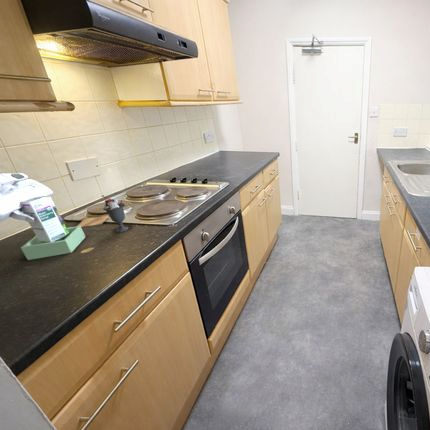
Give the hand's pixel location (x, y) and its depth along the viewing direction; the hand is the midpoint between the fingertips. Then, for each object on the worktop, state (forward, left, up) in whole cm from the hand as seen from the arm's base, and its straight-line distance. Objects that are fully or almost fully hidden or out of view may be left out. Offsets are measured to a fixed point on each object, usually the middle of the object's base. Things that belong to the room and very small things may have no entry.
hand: (44, 214), depth 86 cm
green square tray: (-1, 0, -13) cm, 13 cm away
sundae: (+16, +7, -13) cm, 22 cm away
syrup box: (-1, 0, -9) cm, 9 cm away
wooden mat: (+2, +21, -13) cm, 24 cm away
